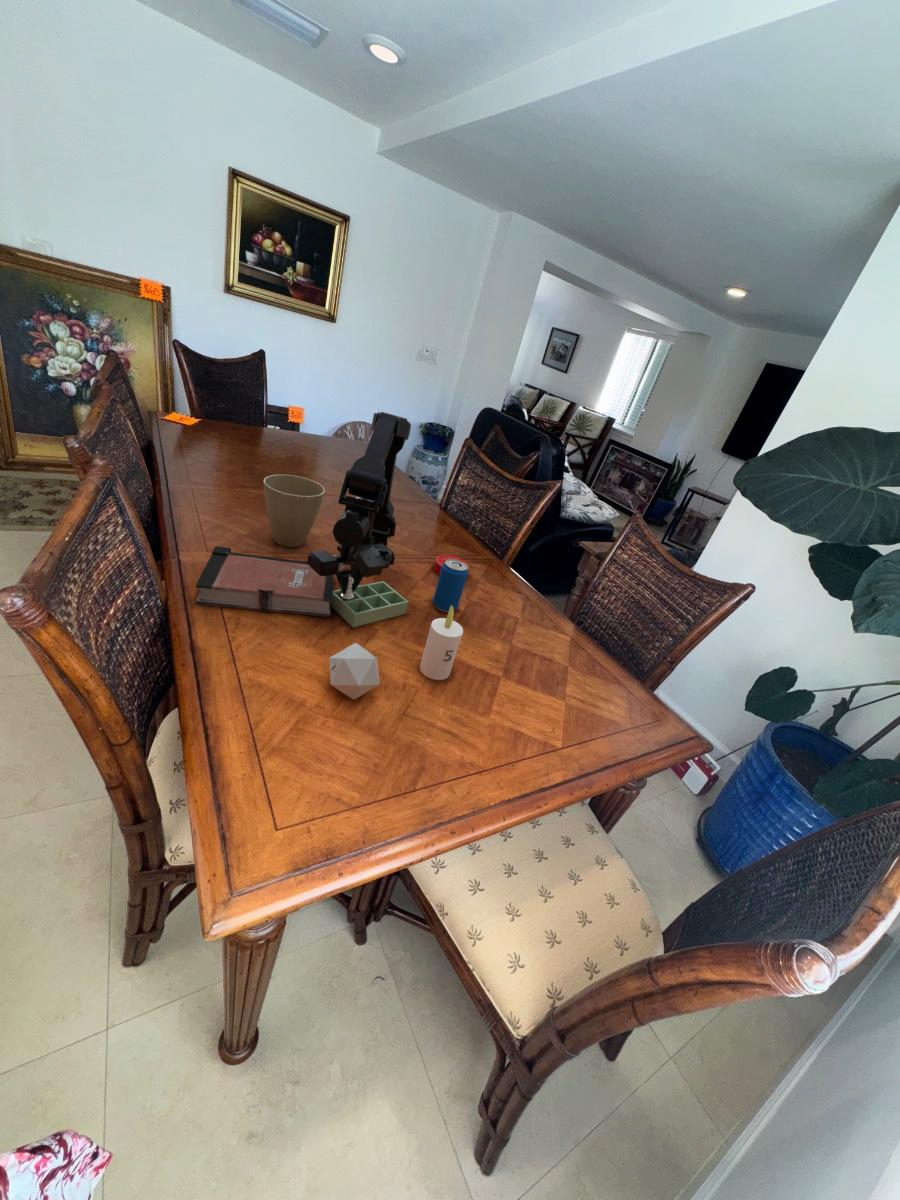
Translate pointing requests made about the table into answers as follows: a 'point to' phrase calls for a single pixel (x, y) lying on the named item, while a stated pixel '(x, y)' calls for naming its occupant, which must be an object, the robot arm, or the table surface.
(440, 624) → the candle
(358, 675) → the die
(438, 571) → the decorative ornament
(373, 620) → the grid
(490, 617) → the table surface
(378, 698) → the table surface
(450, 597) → the beverage can
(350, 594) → the chess pawn
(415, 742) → the table surface
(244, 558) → the book
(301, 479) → the plant pot
